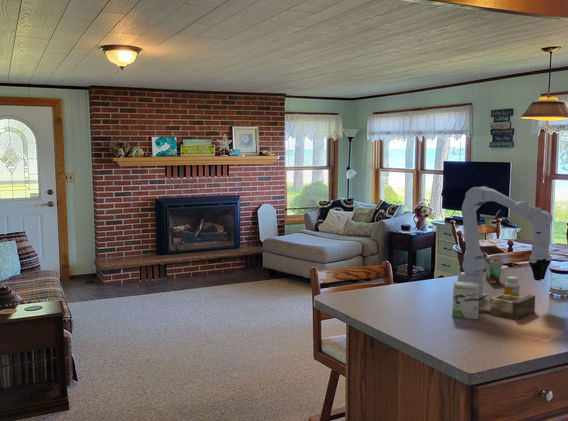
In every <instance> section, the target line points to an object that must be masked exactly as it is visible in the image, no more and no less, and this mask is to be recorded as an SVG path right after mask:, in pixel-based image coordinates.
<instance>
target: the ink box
mask: <svg viewBox="0 0 568 421" xmlns="http://www.w3.org/2000/svg"><path fill="white" fill-rule="evenodd" d="M452 293H453V294H452V309H451V310H452V311H451V312H452V317H453V318H462V319H463V318H464V319H474V320H479V319H478V318H479V312H478V304H479V301H480V300H479V299H480V298H479V284H478V283H472V282H460V281H458V280H456V281H453V292H452Z"/></svg>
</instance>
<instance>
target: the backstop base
mask: <svg viewBox="0 0 568 421" xmlns="http://www.w3.org/2000/svg"><path fill="white" fill-rule="evenodd" d="M535 309H536V295H532V294H528V295H527V296H523V297H521V299H518V300H516V301H514V302H513V314H512V313H507V312H502V311H497V310H492V309H490V300H487V299H481V300H479V304H478V313H479V312H480V313H484V314H487V315H492V316H498V317H502V318H507V319H513V320H517V321H518V320H521V319H523V318H525V317H527V316H529V315H532V314H533V313H534V314H535Z"/></svg>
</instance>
